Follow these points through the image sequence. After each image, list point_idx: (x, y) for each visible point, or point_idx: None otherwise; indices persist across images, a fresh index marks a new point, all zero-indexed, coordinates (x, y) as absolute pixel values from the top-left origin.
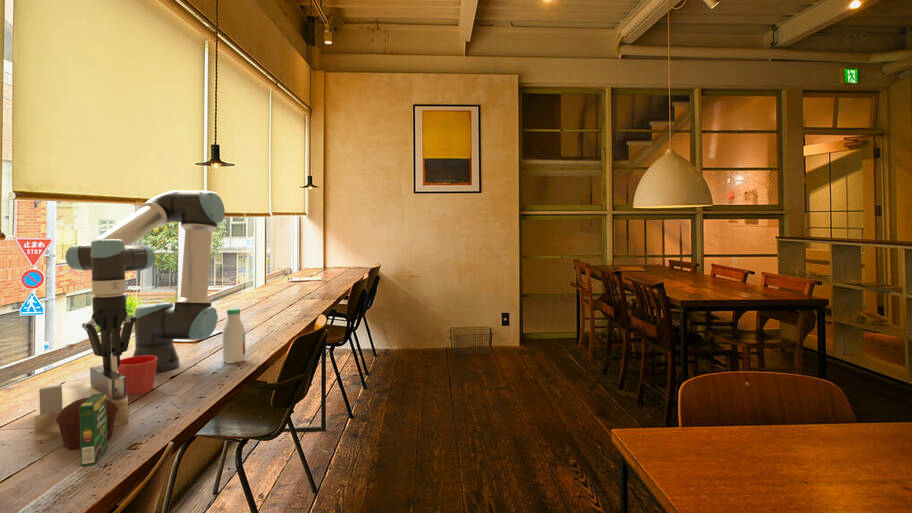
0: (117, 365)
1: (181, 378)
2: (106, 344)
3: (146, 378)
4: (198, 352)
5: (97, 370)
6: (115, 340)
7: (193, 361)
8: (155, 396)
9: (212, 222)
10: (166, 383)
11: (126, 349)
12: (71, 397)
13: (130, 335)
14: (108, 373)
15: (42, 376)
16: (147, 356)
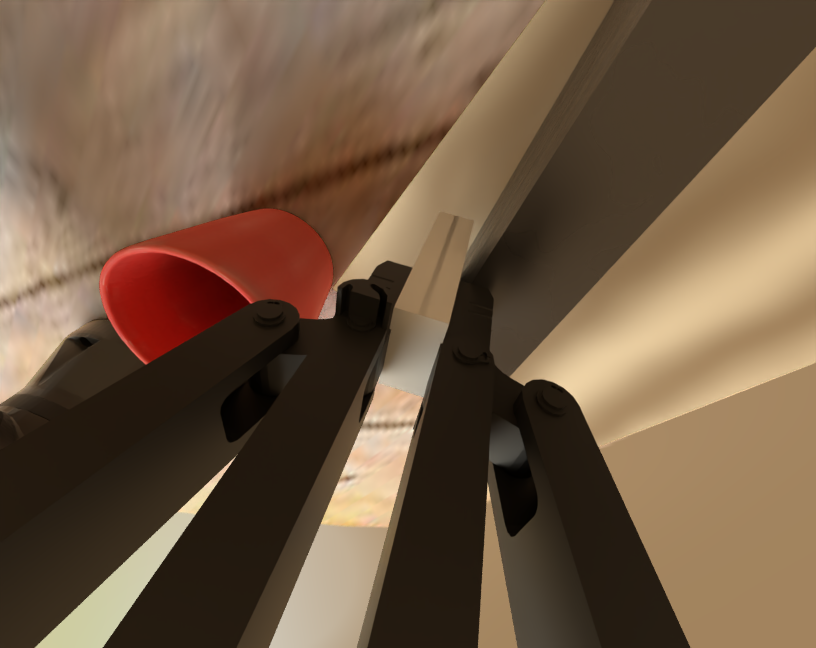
0: (400, 269)
1: (116, 210)
2: (483, 501)
3: (244, 222)
4: (11, 357)
5: (545, 321)
6: (312, 493)
7: (37, 314)
8: (291, 109)
9: None
10: (180, 219)
11: (259, 306)
12: (708, 276)
13: (16, 443)
14: (660, 128)
15: (336, 524)
16: (135, 343)
